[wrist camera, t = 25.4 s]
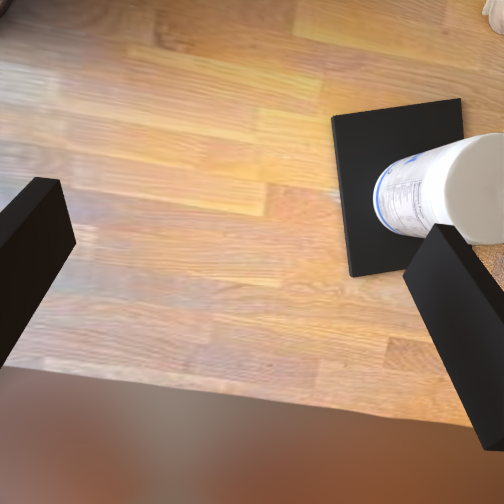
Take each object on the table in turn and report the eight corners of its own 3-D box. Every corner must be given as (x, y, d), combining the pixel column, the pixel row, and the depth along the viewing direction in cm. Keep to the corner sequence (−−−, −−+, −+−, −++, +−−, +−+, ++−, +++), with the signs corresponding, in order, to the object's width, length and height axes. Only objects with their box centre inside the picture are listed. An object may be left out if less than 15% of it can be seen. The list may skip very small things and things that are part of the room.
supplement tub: (430, 147, 42) (537, 110, 27) (453, 218, 43) (567, 220, 29) (358, 176, 42) (427, 155, 27) (383, 247, 43) (461, 263, 28)
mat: (330, 118, 42) (333, 115, 41) (455, 100, 43) (461, 97, 42) (349, 276, 44) (352, 277, 43) (467, 256, 45) (473, 257, 44)
